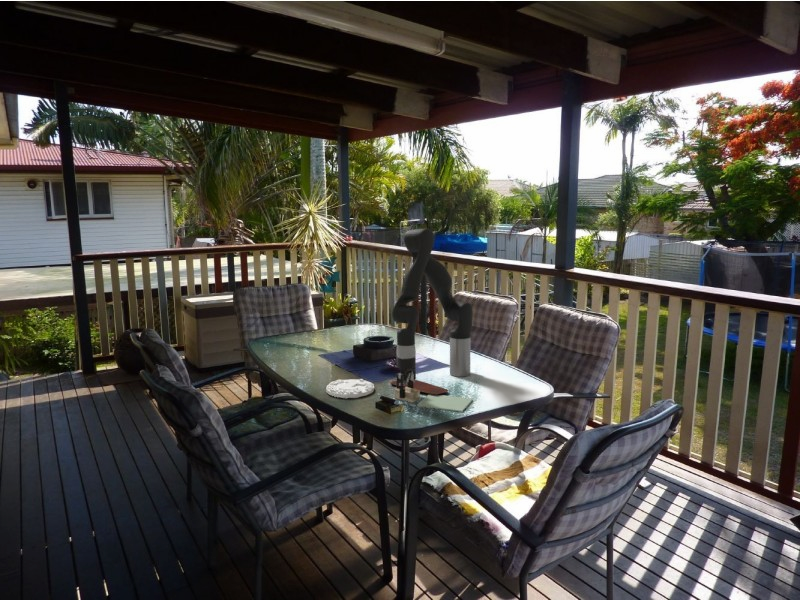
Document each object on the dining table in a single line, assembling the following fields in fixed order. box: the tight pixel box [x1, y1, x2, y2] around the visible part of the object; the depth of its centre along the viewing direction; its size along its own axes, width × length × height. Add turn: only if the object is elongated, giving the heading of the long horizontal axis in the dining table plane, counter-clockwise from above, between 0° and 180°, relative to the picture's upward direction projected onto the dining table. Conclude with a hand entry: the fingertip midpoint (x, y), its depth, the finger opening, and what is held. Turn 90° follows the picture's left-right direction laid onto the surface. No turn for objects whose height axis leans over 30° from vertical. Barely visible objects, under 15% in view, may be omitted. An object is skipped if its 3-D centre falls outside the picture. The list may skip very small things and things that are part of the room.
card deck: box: [393, 387, 421, 403], centre depth 232 cm, size 5×9×4 cm, turn 51°
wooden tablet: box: [389, 379, 450, 395], centre depth 243 cm, size 27×10×2 cm, turn 45°
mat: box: [416, 393, 474, 413], centre depth 226 cm, size 14×18×1 cm
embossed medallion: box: [325, 378, 375, 400], centre depth 243 cm, size 20×20×3 cm
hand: (406, 394), depth 232 cm, fingers open, 8 cm apart
